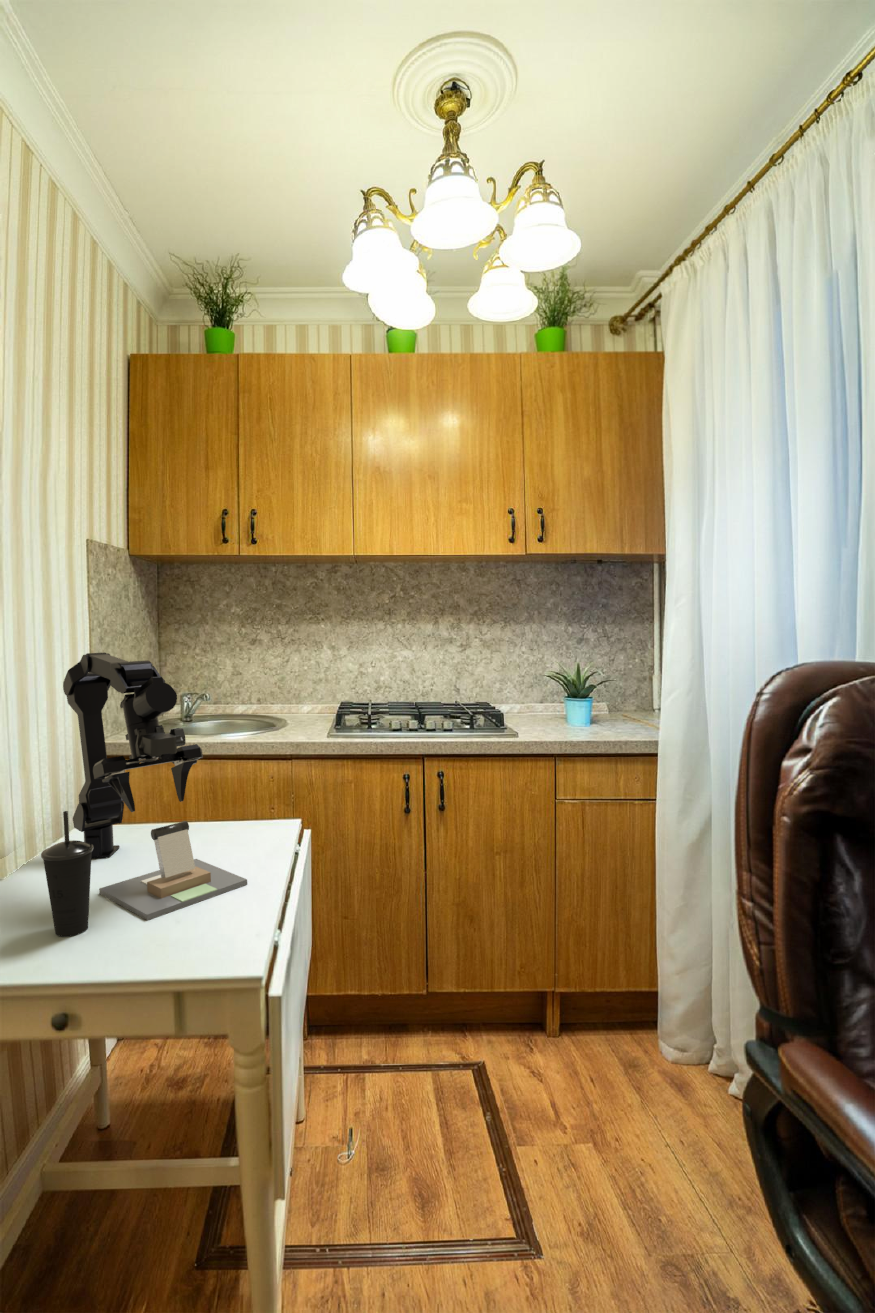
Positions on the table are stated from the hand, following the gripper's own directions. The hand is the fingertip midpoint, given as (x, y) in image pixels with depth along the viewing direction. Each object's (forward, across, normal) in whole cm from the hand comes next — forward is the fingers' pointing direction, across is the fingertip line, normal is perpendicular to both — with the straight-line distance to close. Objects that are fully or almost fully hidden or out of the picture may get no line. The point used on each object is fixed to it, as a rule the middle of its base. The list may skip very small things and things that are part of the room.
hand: (158, 806), depth 132 cm
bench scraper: (+13, +2, +2) cm, 14 cm away
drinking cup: (+17, -17, +1) cm, 24 cm away
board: (+16, +2, +5) cm, 16 cm away
